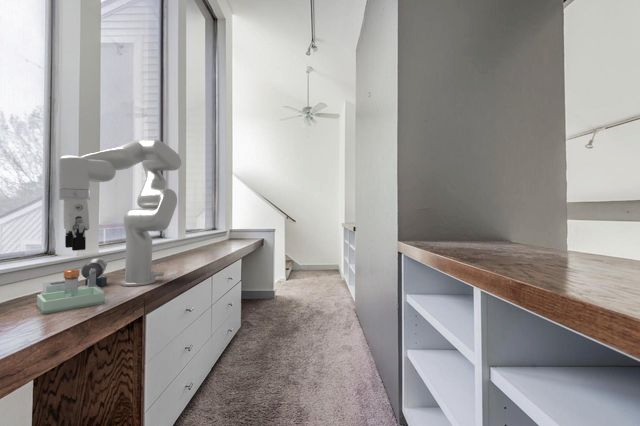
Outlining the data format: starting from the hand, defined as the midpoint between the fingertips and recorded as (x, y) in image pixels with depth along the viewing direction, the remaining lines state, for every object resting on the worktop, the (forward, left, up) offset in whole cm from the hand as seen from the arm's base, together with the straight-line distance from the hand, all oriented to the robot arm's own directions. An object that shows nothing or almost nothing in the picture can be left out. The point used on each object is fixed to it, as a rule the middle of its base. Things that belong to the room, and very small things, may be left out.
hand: (75, 248), depth 93 cm
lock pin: (+1, 0, -17) cm, 17 cm away
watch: (-11, -25, -18) cm, 32 cm away
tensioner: (-2, -13, -18) cm, 22 cm away
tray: (+1, 0, -18) cm, 18 cm away
